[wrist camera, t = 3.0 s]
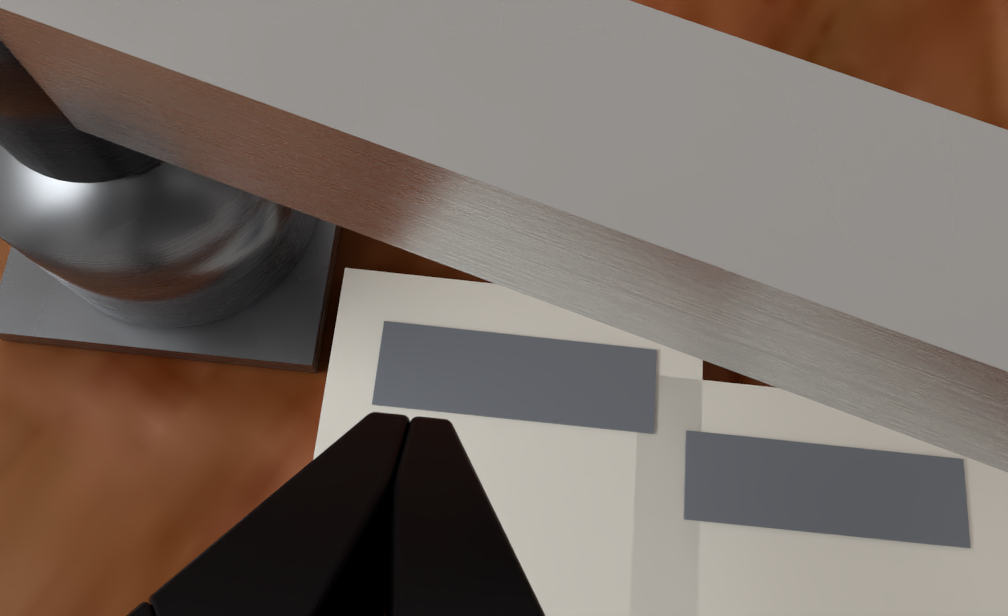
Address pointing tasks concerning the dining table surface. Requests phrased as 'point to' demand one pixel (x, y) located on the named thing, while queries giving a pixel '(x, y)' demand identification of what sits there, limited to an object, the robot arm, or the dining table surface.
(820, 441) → the label plate
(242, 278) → the arm mount
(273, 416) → the dining table surface
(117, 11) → the bar
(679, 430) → the label plate
